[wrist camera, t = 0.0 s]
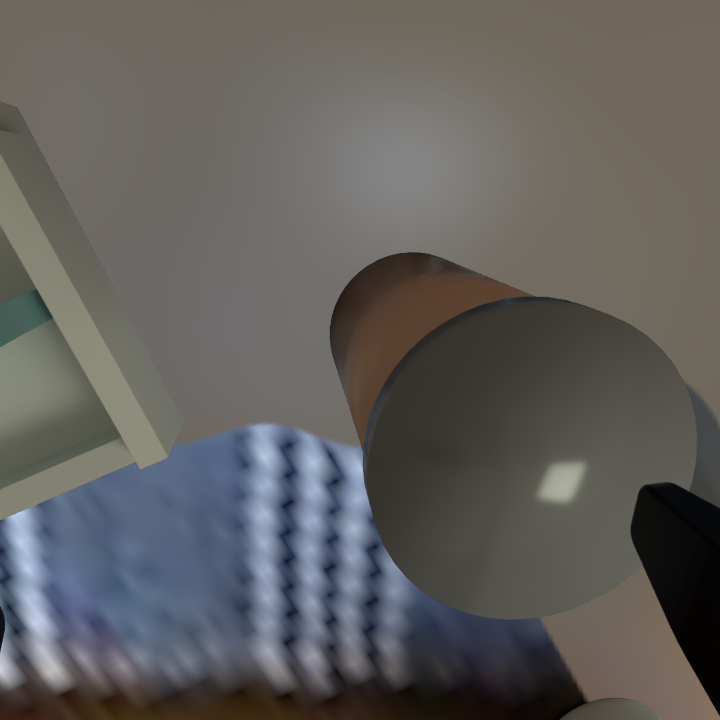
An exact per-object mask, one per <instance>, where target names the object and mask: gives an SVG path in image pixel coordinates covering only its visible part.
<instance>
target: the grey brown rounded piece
mask: <svg viewBox="0 0 720 720" xmlns="http://www.w3.org/2000/svg"><path fill="white" fill-rule="evenodd" d="M330 343H331V350H332V354H333V358H334V361H335V364H336V368H337V370H338V374H339V377H340V380H341V383H342V387H343V390H344V393H345V396H346V399H347V402H348V405H349V409H350V411H351V415H352V418H353V421H354V424H355V427H356V430H357V433H358V437H359V440H360V443H361V446H362V449H363V473H364V483H365V488H366V492H367V496H368V500H369V503H370V507H371V510H372V514H373V517H374V521H375V524H376V528H377V530H378V533H379V535H380V537H381V540H382V542H383V545H384V547H385V548H386V550H387V552H388V553H389V555H390V557H391V558H392V560H393V561H394V563H395V564H396V565H397V566H398V568H399V569H400V570H401V571H402V573H403V574H404V575H405V576H406V577H407V578H408V579H409V580H410V581H411V582H412V583H413V584H415V585H416V586H417V587H418V588H419V589H420V590H422V591H423V592H425V593H426V594H428V595H429V596H431V597H432V598H434V599H435V600H437V601H439V602H441V603H443V604H445V605H447V606H449V607H451V608H453V609H456V610H459V611H462V612H465V613H468V614H471V615H476V616H481V617H487V618H494V619H509V620H513V619H531V618H537V617H543V616H548V615H553V614H556V613H560V612H563V611H567V610H570V609H573V608H575V607H578V606H580V605H583V604H585V603H588V602H590V601H591V600H594V599H595V598H597V597H599V596H601V595H603V594H605V593H607V592H608V591H610V590H611V589H612V588H614V587H616V586H617V585H618V584H620V583H621V582H623V581H624V580H626V579H627V578H628V577H629V576H630V575H631V574H633V573H634V572H635V571H636V570H637V569H639V568H640V567H641V566H642V562H641V560H640V558H639V556H638V554H637V551H636V549H635V547H634V545H633V542H632V538H631V533H630V526H631V521H632V517H633V513H634V508H635V504H636V500H637V496H638V492H639V490H640V488H641V487H642V486H644V485H646V484H653V483H661V482H671V483H674V484H676V485H678V486H680V487H682V488H684V489H686V490H688V491H689V489H690V486H691V483H692V480H693V475H694V469H695V464H696V455H697V429H696V419H695V415H694V410H693V406H692V401H691V399H690V396H689V393H688V391H687V388H686V386H685V383H684V381H683V379H682V378H681V376H680V374H679V373H678V370H677V369H676V367H675V365H674V364H673V363H672V361H671V360H670V359H669V358H668V356H667V355H666V354H665V353H664V351H663V350H662V349H661V348H660V347H659V346H658V345H657V344H655V343H654V342H653V341H652V340H651V339H650V338H649V337H648V336H647V335H645V334H644V333H642V332H641V331H639V330H638V329H636V328H635V327H633V326H632V325H630V324H628V323H626V322H624V321H622V320H620V319H618V318H616V317H613V316H611V315H609V314H606V313H603V312H601V311H598V310H595V309H593V308H590V307H587V306H584V305H581V304H578V303H574V302H571V301H568V300H563V299H556V298H550V297H536V296H533V295H531V294H528V293H526V292H523V291H521V290H519V289H516V288H514V287H511V286H509V285H506V284H504V283H501V282H499V281H497V280H494V279H492V278H489V277H487V276H484V275H482V274H479V273H477V272H474V271H472V270H470V269H467V268H465V267H462V266H460V265H457V264H455V263H453V262H450V261H448V260H445V259H443V258H440V257H437V256H434V255H431V254H425V253H413V252H412V253H411V252H409V253H400V254H395V255H391V256H387V257H385V258H382V259H380V260H377V261H375V262H374V263H372V264H370V265H368V266H367V267H365V268H364V269H363V270H361V271H360V272H359V273H358V274H357V275H356V276H355V277H354V278H353V279H352V280H351V281H350V282H349V283H348V285H347V286H346V287H345V289H344V290H343V292H342V293H341V295H340V297H339V299H338V301H337V303H336V306H335V308H334V311H333V315H332V319H331V325H330Z"/></svg>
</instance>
